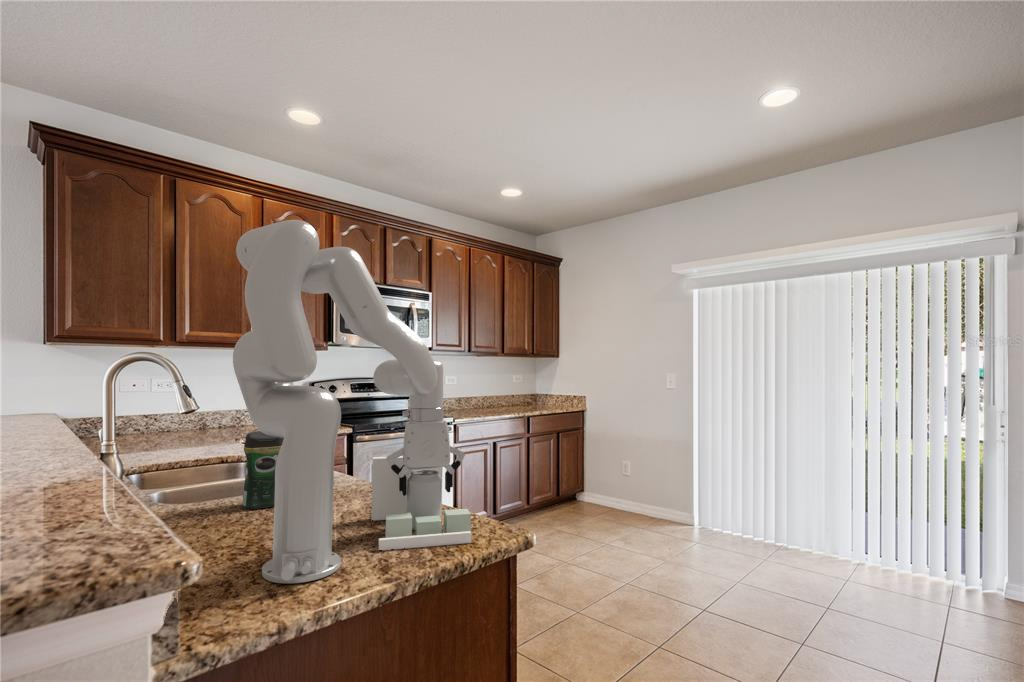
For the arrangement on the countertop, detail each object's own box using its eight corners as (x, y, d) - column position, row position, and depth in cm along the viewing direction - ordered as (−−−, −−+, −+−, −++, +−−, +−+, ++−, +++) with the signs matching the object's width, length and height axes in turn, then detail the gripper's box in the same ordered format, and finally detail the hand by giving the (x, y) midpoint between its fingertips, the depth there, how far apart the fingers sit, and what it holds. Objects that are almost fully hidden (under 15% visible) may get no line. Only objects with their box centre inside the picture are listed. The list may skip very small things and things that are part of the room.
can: (402, 531, 110) (403, 474, 110) (410, 520, 117) (411, 467, 118) (437, 532, 110) (438, 475, 110) (443, 521, 117) (444, 468, 118)
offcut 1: (411, 543, 103) (412, 517, 103) (386, 545, 101) (386, 519, 102) (410, 536, 107) (410, 512, 107) (385, 538, 105) (385, 514, 106)
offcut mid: (441, 540, 105) (441, 521, 105) (416, 543, 103) (417, 522, 103) (438, 534, 108) (439, 515, 109) (414, 536, 107) (415, 517, 107)
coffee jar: (282, 499, 135) (284, 428, 136) (286, 506, 128) (288, 431, 129) (241, 503, 130) (243, 430, 131) (242, 511, 123) (245, 433, 124)
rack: (471, 542, 103) (472, 472, 104) (373, 551, 98) (375, 477, 99) (452, 512, 124) (453, 454, 125) (371, 518, 119) (373, 457, 120)
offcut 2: (470, 538, 106) (470, 513, 106) (446, 540, 105) (446, 515, 105) (466, 532, 110) (467, 508, 110) (443, 534, 109) (444, 510, 109)
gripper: (387, 418, 109) (387, 500, 108) (467, 415, 114) (467, 493, 113) (385, 414, 116) (385, 491, 116) (461, 412, 121) (461, 485, 120)
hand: (426, 492), depth 114 cm, fingers open, 9 cm apart
